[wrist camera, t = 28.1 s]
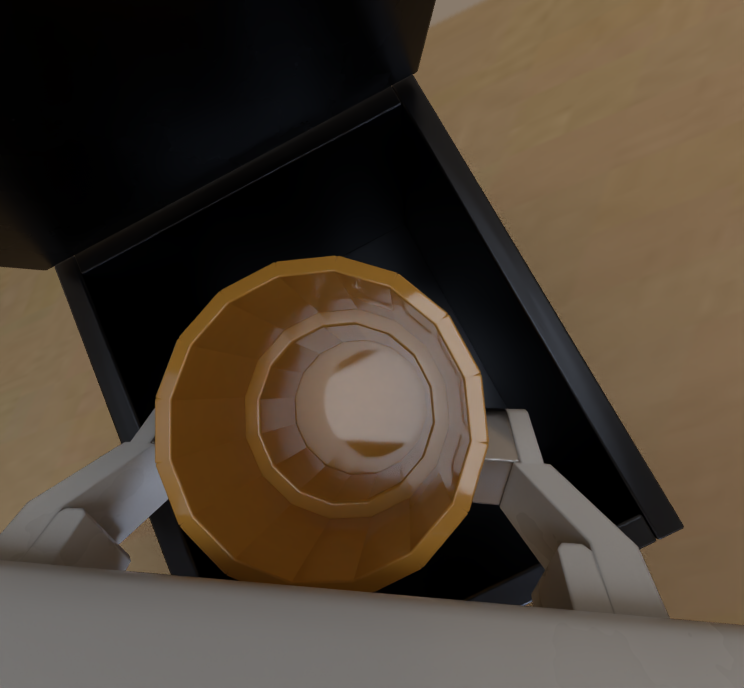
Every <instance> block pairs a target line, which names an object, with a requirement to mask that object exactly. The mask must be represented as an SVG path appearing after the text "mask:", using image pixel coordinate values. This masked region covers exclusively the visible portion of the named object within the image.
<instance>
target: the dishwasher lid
mask: <svg viewBox="0 0 744 688" xmlns="http://www.w3.org/2000/svg"><path fill="white" fill-rule="evenodd" d="M435 1H436V0H0V267H10V268H22V269H34V270H48V269H50V268H52V267H54V266H55V265H57V264H59V263H61V262H63V261H65V260H67V259H68V258H70V257H72V256H74V255H76V254H78V253H80V252H82V251H83V250H85V249H87V248H89V247H91V246H93V245H95V244H96V243H98V242H100V241H102V240H104V239H106V238H108V237H110V236H111V235H113V234H115V233H117V232H119V231H121V230H123V229H125V228H126V227H128V226H130V225H132V224H134V223H136V222H138V221H139V220H141V219H143V218H145V217H147V216H149V215H151V214H153V213H154V212H156V211H158V210H160V209H162V208H164V207H166V206H168V205H169V204H171V203H173V202H175V201H177V200H179V199H181V198H182V197H184V196H186V195H188V194H190V193H192V192H194V191H196V190H197V189H199V188H201V187H203V186H205V185H207V184H209V183H210V182H212V181H214V180H216V179H218V178H220V177H222V176H224V175H225V174H227V173H229V172H231V171H233V170H235V169H237V168H239V167H240V166H242V165H244V164H246V163H248V162H250V161H252V160H253V159H255V158H257V157H259V156H261V155H263V154H265V153H267V152H268V151H270V150H272V149H274V148H276V147H278V146H280V145H282V144H283V143H285V142H287V141H289V140H291V139H293V138H295V137H296V136H298V135H300V134H302V133H304V132H306V131H308V130H310V129H311V128H313V127H315V126H317V125H319V124H321V123H323V122H324V121H326V120H328V119H330V118H332V117H334V116H336V115H338V114H339V113H341V112H343V111H345V110H347V109H349V108H351V107H353V106H354V105H356V104H358V103H360V102H362V101H364V100H366V99H367V98H369V97H371V96H373V95H375V94H377V93H379V92H381V91H382V90H384V89H386V88H388V87H390V86H392V85H394V84H396V83H397V82H399V81H401V80H403V79H405V78H407V77H409V76H410V75H412V74H414V73H416V72H417V71H418V67H419V63H420V60H421V56H422V52H423V48H424V44H425V40H426V36H427V32H428V28H429V25H430V21H431V17H432V12H433V9H434V5H435Z"/></svg>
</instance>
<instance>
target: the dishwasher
mask: <svg viewBox="0 0 744 688" xmlns="http://www.w3.org/2000/svg"><path fill="white" fill-rule="evenodd" d="M325 256H342V257H345V258H349V259H352V260H355V261H359V262H362V263H366V264H369V265H372V266H376V267H379V268H383V269H386V270H390V271H393V272H396V273H397V274H400V275H401V276H403V277H404V278H405V279H406V280H408V281H409V282H410V283H411V284H413V285H414V286H415V287H416V288H417V289H419V290H420V291H421V292H422V293H424V294H425V295H426V296H427V297H429V298H430V299H431V300H432V301H434V302H435V303H436V304H437V305H439V306H440V307H441V308H442V309H444V310H445V311H446V312H447V313H448V315H450V316H451V318H452V320H453V322H454V324H455V326H456V327H457V329H458V331H459V333H460V335H461V337H462V338H463V340H464V342H465V344H466V346H467V347H468V349H469V351H470V353H471V355H472V357H473V358H474V360H475V362H476V364H477V366H478V368H479V369H480V371H481V375H482V380H483V389H484V398H485V408H504V409H525V410H526V411H527V412H528V414H529V417H530V420H531V423H532V427H533V430H534V433H535V436H536V439H537V443H538V446H539V449H540V452H541V455H542V459H543V462H544V464H551V465H552V466H553V467H554V468H555V469H556V470H557V471H558V472H559V473H560V474H561V475H562V476H563V477H565V478H566V479H567V480H568V481H569V482H570V483H571V484H572V485H573V486H574V487H575V488H576V489H577V490H578V491H579V492H580V493H582V494H583V495H584V496H585V497H586V498H587V499H588V500H589V501H590V502H591V503H592V504H593V505H594V506H595V507H596V508H598V509H599V510H600V511H601V512H602V513H603V514H604V515H605V516H606V517H607V518H608V519H609V520H610V521H611V522H612V523H613V524H615V525H616V526H617V527H618V528H619V529H620V530H621V531H622V532H623V533H624V534H625V535H626V536H627V537H628V538H629V539H630V540H632V541H633V542H634V543H635V544H636V545H637V546H638V547H639V549H641V548H643V547H645V546H647V545H650V544H652V543H654V542H655V541H656V539H662V538H664V537H666V536H668V535H670V534H672V533H674V532H676V531H679V530H681V529H683V527H684V526H683V524H682V522H681V520H680V519H679V517H678V515H677V514H676V512H675V510H674V509H673V507H672V505H671V504H670V502H669V500H668V499H667V497H666V495H665V494H664V492H663V490H662V489H661V487H660V485H659V484H658V482H657V480H656V479H655V477H654V475H653V474H652V472H651V471H650V469H649V467H648V466H647V464H646V462H645V461H644V459H643V457H642V456H641V454H640V452H639V451H638V449H637V447H636V446H635V444H634V442H633V441H632V439H631V437H630V436H629V434H628V432H627V431H626V429H625V427H624V426H623V424H622V422H621V421H620V419H619V417H618V416H617V414H616V412H615V411H614V409H613V407H612V406H611V404H610V402H609V401H608V399H607V397H606V396H605V394H604V392H603V391H602V389H601V387H600V386H599V384H598V382H597V381H596V379H595V377H594V376H593V374H592V372H591V371H590V369H589V367H588V366H587V364H586V362H585V361H584V359H583V357H582V356H581V354H580V352H579V351H578V349H577V347H576V346H575V344H574V342H573V341H572V339H571V337H570V336H569V334H568V332H567V331H566V329H565V327H564V326H563V324H562V322H561V321H560V319H559V317H558V316H557V314H556V312H555V311H554V309H553V307H552V306H551V304H550V302H549V301H548V299H547V297H546V296H545V294H544V292H543V291H542V289H541V287H540V286H539V284H538V282H537V281H536V279H535V277H534V276H533V274H532V272H531V271H530V269H529V267H528V266H527V264H526V262H525V261H524V259H523V257H522V256H521V254H520V252H519V251H518V249H517V247H516V246H515V244H514V242H513V241H512V239H511V237H510V236H509V234H508V232H507V231H506V229H505V227H504V226H503V224H502V222H501V221H500V219H499V217H498V216H497V214H496V212H495V211H494V209H493V207H492V206H491V204H490V202H489V201H488V199H487V197H486V196H485V194H484V192H483V191H482V189H481V187H480V186H479V184H478V182H477V181H476V179H475V177H474V176H473V174H472V172H471V171H470V169H469V167H468V166H467V164H466V162H465V161H464V159H463V157H462V156H461V154H460V152H459V151H458V149H457V147H456V146H455V144H454V142H453V141H452V139H451V137H450V136H449V134H448V132H447V131H446V129H445V127H444V126H443V124H442V122H441V121H440V119H439V117H438V116H437V114H436V113H435V111H434V109H433V108H432V106H431V104H430V103H429V101H428V99H427V98H426V96H425V94H424V93H423V91H422V89H421V88H420V86H419V84H418V83H417V81H416V79H415V78H414V76H413V75H410V76H409V77H407V78H405V79H403V80H401V81H399V82H397V83H396V84H394V85H392V86H390V87H388V88H386V89H384V90H382V91H381V92H379V93H377V94H375V95H373V96H371V97H369V98H367V99H366V100H364V101H362V102H360V103H358V104H356V105H354V106H353V107H351V108H349V109H347V110H345V111H343V112H341V113H339V114H338V115H336V116H334V117H332V118H330V119H328V120H326V121H324V122H323V123H321V124H319V125H317V126H315V127H313V128H311V129H310V130H308V131H306V132H304V133H302V134H300V135H298V136H296V137H295V138H293V139H291V140H289V141H287V142H285V143H283V144H282V145H280V146H278V147H276V148H274V149H272V150H270V151H268V152H267V153H265V154H263V155H261V156H259V157H257V158H255V159H253V160H252V161H250V162H248V163H246V164H244V165H242V166H240V167H239V168H237V169H235V170H233V171H231V172H229V173H227V174H225V175H224V176H222V177H220V178H218V179H216V180H214V181H212V182H210V183H209V184H207V185H205V186H203V187H201V188H199V189H197V190H196V191H194V192H192V193H190V194H188V195H186V196H184V197H182V198H181V199H179V200H177V201H175V202H173V203H171V204H169V205H168V206H166V207H164V208H162V209H160V210H158V211H156V212H154V213H153V214H151V215H149V216H147V217H145V218H143V219H141V220H139V221H138V222H136V223H134V224H132V225H130V226H128V227H126V228H125V229H123V230H121V231H119V232H117V233H115V234H113V235H111V236H110V237H108V238H106V239H104V240H102V241H100V242H98V243H96V244H95V245H93V246H91V247H89V248H87V249H85V250H83V251H82V252H80V253H78V254H76V255H74V256H72V257H70V258H68V259H67V260H65V261H63V262H61V263H59V264H57V265H55V269H56V272H57V275H58V277H59V280H60V283H61V285H62V288H63V291H64V293H65V296H66V298H67V301H68V304H69V306H70V309H71V312H72V314H73V317H74V320H75V322H76V325H77V328H78V330H79V333H80V336H81V338H82V341H83V343H84V346H85V349H86V351H87V354H88V357H89V359H90V362H91V365H92V367H93V370H94V373H95V375H96V378H97V380H98V383H99V386H100V388H101V391H102V394H103V396H104V399H105V402H106V404H107V407H108V410H109V412H110V415H111V418H112V420H113V423H114V425H115V428H116V431H117V433H118V436H119V439H120V441H121V444H122V443H124V442H131V440H132V439H133V437H134V436H135V435H136V433H137V432H138V431H139V429H140V428H141V426H142V425H143V424H144V422H145V421H146V420H147V418H148V417H149V415H150V414H151V413H152V411H153V410H154V409H155V399H157V398H156V395H157V392H158V389H159V387H160V384H161V382H162V379H163V376H164V374H165V371H166V368H167V366H168V363H169V360H170V358H171V355H172V353H173V350H174V347H175V345H176V342H177V340H178V339H179V336H180V335H181V334H182V333H183V332H184V331H185V329H186V328H187V327H188V326H189V325H190V324H191V323H192V322H193V320H194V319H195V318H196V317H197V316H198V315H199V314H200V312H201V311H202V310H203V309H204V308H205V307H206V306H207V305H208V303H209V302H210V301H211V300H212V299H213V298H214V297H215V295H216V294H217V293H218V292H219V291H221V290H222V289H224V288H226V287H228V286H230V285H231V284H233V283H235V282H237V281H239V280H241V279H243V278H245V277H247V276H249V275H251V274H253V273H254V272H256V271H258V270H260V269H262V268H264V267H266V266H268V265H270V264H272V263H274V262H275V263H276V262H277V261H286V260H296V259H306V258H315V257H325ZM149 518H150V521H151V523H152V526H153V529H154V531H155V534H156V537H157V539H158V542H159V544H160V547H161V550H162V552H163V555H164V558H165V560H166V563H167V566H168V568H169V571H170V574H171V575H178V576H190V577H201V578H213V579H224V580H235V581H239V580H236V579H234V578H231V577H229V576H227V574H224V573H223V572H222V571H221V570H220V569H219V568H218V566H217V565H216V564H215V563H214V562H213V561H212V560H211V559H210V558H209V557H208V556H207V555H206V554H205V553H204V552H203V551H202V550H201V549H200V548H199V546H198V545H197V544H196V543H195V542H194V541H193V540H192V539H191V538H190V537H189V536H188V535H187V534H186V533H185V532H184V531H183V530H182V529H181V527H180V526H181V525H179V524H178V522H177V519H176V517H175V514H174V512H173V509H172V506H171V504H170V501H169V499H168V500H167V501H166V502H165V503H163V504H162V505H161V506H160V507H159V508H158V509H157V510H156V511H155V512H154V513H153V514H151V515H150V516H149ZM544 571H545V569H544V568H543V566H542V565H541V563H540V562H539V561H538V559H537V558H536V557H535V555H534V554H533V552H532V551H531V550H530V548H529V547H528V546H527V544H526V543H525V541H524V540H523V539H522V537H521V536H520V535H519V533H518V532H517V530H516V529H515V528H514V526H513V525H512V523H511V522H510V521H509V519H508V518H507V517H506V515H505V514H504V512H503V511H502V510H501V508H500V505H492V504H481V503H472V504H471V508H470V511H469V512H468V514H467V516H466V517H465V518H464V519H463V521H462V522H461V523H460V524H459V525H458V527H457V528H456V529H455V530H454V531H453V533H452V534H451V535H450V536H449V537H448V539H447V540H446V541H445V542H444V543H443V545H442V546H441V547H440V548H439V549H438V551H437V552H436V553H435V554H434V555H433V557H432V558H431V559H430V560H429V561H428V563H427V564H426V565H425V566H424V567H422V568H421V569H420V570H418V571H416V572H414V573H412V574H410V575H408V576H406V577H404V578H402V579H400V580H398V581H396V582H394V583H392V584H390V585H388V586H386V587H384V588H382V589H380V590H378V591H376V592H374V593H384V594H395V595H407V596H418V597H430V598H441V599H452V600H464V601H475V602H487V603H498V604H510V605H521V606H524V605H526V604H528V603H530V602H532V597H531V594H532V592H533V590H534V588H535V587H536V585H537V583H538V582H539V580H540V578H541V576H542V575H543V573H544Z"/></svg>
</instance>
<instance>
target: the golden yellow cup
mask: <svg viewBox="0 0 744 688" xmlns="http://www.w3.org/2000/svg"><path fill="white" fill-rule="evenodd" d="M156 398H157V399H155V463H157V464H156V468H157V470H158V473H159V475H160V478H161V481H162V483H163V486H164V488H165V491H166V493H167V496H168V499H169V501H170V504H171V506H172V509H173V512H174V514H175V517H176V519H177V522H178V524H179V525H181V526H180V527H181V529H182V530H183V531H184V532H185V533H186V534H187V535H188V536H189V537H190V538H191V539H192V540H193V541H194V542H195V543H196V544H197V545H198V546H199V548H200V549H201V550H202V551H203V552H204V553H205V554H206V555H207V556H208V557H209V558H210V559H211V560H212V561H213V562H214V563H215V564H216V565H217V566H218V568H219V569H220V570H221V571H222V572H223V573H224V574H227V576H229V577H231V578H234V579H236V580H239V581H247V582H258V583H270V584H281V585H293V586H304V587H315V588H327V589H338V590H350V591H361V592H373V593H374V592H376V591H378V590H380V589H382V588H384V587H386V586H388V585H390V584H392V583H394V582H396V581H398V580H400V579H402V578H404V577H406V576H408V575H410V574H412V573H414V572H416V571H418V570H420V569H421V568H422V567H424V566H425V565H426V564H427V563H428V561H429V560H430V559H431V558H432V557H433V555H434V554H435V553H436V552H437V551H438V549H439V548H440V547H441V546H442V545H443V543H444V542H445V541H446V540H447V539H448V537H449V536H450V535H451V534H452V533H453V531H454V530H455V529H456V528H457V527H458V525H459V524H460V523H461V522H462V521H463V519H464V518H465V517H466V516H467V514H468V512H469V511H470V508H471V504H472V501H473V497H474V494H475V491H476V487H477V484H478V480H479V477H480V474H481V470H482V467H483V464H484V460H485V457H486V453H487V450H488V447H489V444H488V443H489V435H488V426H487V417H486V408H485V398H484V389H483V380H482V375H481V371H480V369H479V368H478V366H477V364H476V362H475V360H474V358H473V357H472V355H471V353H470V351H469V349H468V347H467V346H466V344H465V342H464V340H463V338H462V337H461V335H460V333H459V331H458V329H457V327H456V326H455V324H454V322H453V320H452V318H451V316H450V315H448V313H447V312H446V311H445V310H444V309H442V308H441V307H440V306H439V305H437V304H436V303H435V302H434V301H432V300H431V299H430V298H429V297H427V296H426V295H425V294H424V293H422V292H421V291H420V290H419V289H417V288H416V287H415V286H414V285H413V284H411V283H410V282H409V281H408V280H406V279H405V278H404V277H403V276H401V275H400V274H397V273H396V272H393V271H390V270H386V269H383V268H379V267H376V266H372V265H369V264H366V263H362V262H359V261H355V260H352V259H349V258H345V257H342V256H325V257H315V258H306V259H296V260H286V261H277V262H276V263H275V262H274V263H272V264H270V265H268V266H266V267H264V268H262V269H260V270H258V271H256V272H254V273H253V274H251V275H249V276H247V277H245V278H243V279H241V280H239V281H237V282H235V283H233V284H231V285H230V286H228V287H226V288H224V289H222V290H221V291H219V292H218V293H217V294H216V295H215V297H214V298H213V299H212V300H211V301H210V302H209V303H208V305H207V306H206V307H205V308H204V309H203V310H202V311H201V312H200V314H199V315H198V316H197V317H196V318H195V319H194V320H193V322H192V323H191V324H190V325H189V326H188V327H187V328H186V329H185V331H184V332H183V333H182V334H181V335H180V336H179V339H178V340H177V342H176V345H175V347H174V350H173V353H172V355H171V358H170V360H169V363H168V366H167V368H166V371H165V374H164V376H163V379H162V382H161V384H160V387H159V389H158V392H157V395H156Z"/></svg>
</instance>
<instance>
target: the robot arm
mask: <svg viewBox="0 0 744 688" xmlns="http://www.w3.org/2000/svg"><path fill="white" fill-rule="evenodd" d="M486 417H487V426H488V435H489V443H488V444H489V447H488V450H487V453H486V457H485V460H484V464H483V467H482V470H481V474H480V477H479V480H478V484H477V487H476V491H475V494H474V497H473V501H472V503H481V504H492V505H500V508H501V510H502V511H503V512H504V514H505V515H506V517H507V518H508V519H509V521H510V522H511V523H512V525H513V526H514V528H515V529H516V530H517V532H518V533H519V535H520V536H521V537H522V539H523V540H524V541H525V543H526V544H527V546H528V547H529V548H530V550H531V551H532V552H533V554H534V555H535V557H536V558H537V559H538V561H539V562H540V563H541V565H542V566H543V568H544V569H545V571H544V573H543V575H542V576H541V578H540V580H539V582H538V583H537V585H536V587H535V588H534V590H533V592H532V594H531V597H532V602H533V607H532V606H521V605H510V604H498V603H487V602H475V601H464V600H452V599H441V598H430V597H418V596H407V595H395V594H384V593H373V592H361V591H350V590H338V589H327V588H315V587H304V586H293V585H281V584H270V583H258V582H247V581H235V580H224V579H213V578H201V577H190V576H178V575H167V574H155V573H144V572H132V571H126V569H127V567H128V565H129V563H130V561H131V560H130V556H129V555H128V554H127V553H126V552H125V551H124V550H123V549H122V548H121V547H120V546H119V544H120V543H121V542H122V541H123V540H124V539H125V538H126V537H127V536H129V535H130V534H131V533H132V532H133V531H134V530H135V529H136V528H137V527H138V526H139V525H141V524H142V523H143V522H144V521H145V520H146V519H147V518H148V517H149V516H150V515H151V514H153V513H154V512H155V511H156V510H157V509H158V508H159V507H160V506H161V505H162V504H163V503H165V502H166V501H167V500H168V496H167V493H166V491H165V488H164V486H163V483H162V481H161V478H160V475H159V473H158V470H157V468H156V464H157V463H155V409H154V410H153V411H152V413H151V414H150V415H149V417H148V418H147V420H146V421H145V422H144V424H143V425H142V426H141V428H140V429H139V431H138V432H137V433H136V435H135V436H134V437H133V439H132V440H131V442H124V443H122V444H121V445H119V446H117V447H116V448H114V449H113V450H111V451H109V452H108V453H106V454H105V455H103V456H101V457H100V458H98V459H97V460H95V461H93V462H92V463H90V464H89V465H87V466H85V467H84V468H82V469H81V470H79V471H77V472H76V473H74V474H73V475H71V476H69V477H68V478H66V479H64V480H63V481H61V482H60V483H58V484H56V485H55V486H53V487H52V488H50V489H48V490H47V491H45V492H44V493H42V494H40V495H39V496H37V497H36V498H34V499H32V500H31V501H29V502H28V503H27V504H26V505H25V506H24V507H23V508H22V509H21V511H20V512H19V513H18V514H17V515H16V516H15V518H14V519H13V520H12V521H11V522H10V523H9V525H8V526H7V527H6V528H5V529H4V530H3V532H2V533H1V534H0V688H744V625H738V624H726V623H715V622H704V621H692V620H681V619H670V618H669V615H668V613H667V611H666V608H665V606H664V604H663V602H662V599H661V597H660V595H659V593H658V590H657V588H656V586H655V584H654V581H653V579H652V577H651V575H650V572H649V570H648V568H647V566H646V563H645V561H644V559H643V557H642V554H641V552H640V550H639V547H638V546H637V545H636V544H635V543H634V542H633V541H632V540H630V539H629V538H628V537H627V536H626V535H625V534H624V533H623V532H622V531H621V530H620V529H619V528H618V527H617V526H616V525H615V524H613V523H612V522H611V521H610V520H609V519H608V518H607V517H606V516H605V515H604V514H603V513H602V512H601V511H600V510H599V509H598V508H596V507H595V506H594V505H593V504H592V503H591V502H590V501H589V500H588V499H587V498H586V497H585V496H584V495H583V494H582V493H580V492H579V491H578V490H577V489H576V488H575V487H574V486H573V485H572V484H571V483H570V482H569V481H568V480H567V479H566V478H565V477H563V476H562V475H561V474H560V473H559V472H558V471H557V470H556V469H555V468H554V467H553V466H552V465H551V464H544V462H543V459H542V455H541V452H540V449H539V446H538V443H537V439H536V436H535V433H534V430H533V427H532V423H531V420H530V417H529V414H528V412H527V411H526V410H525V409H504V408H486Z"/></svg>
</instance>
